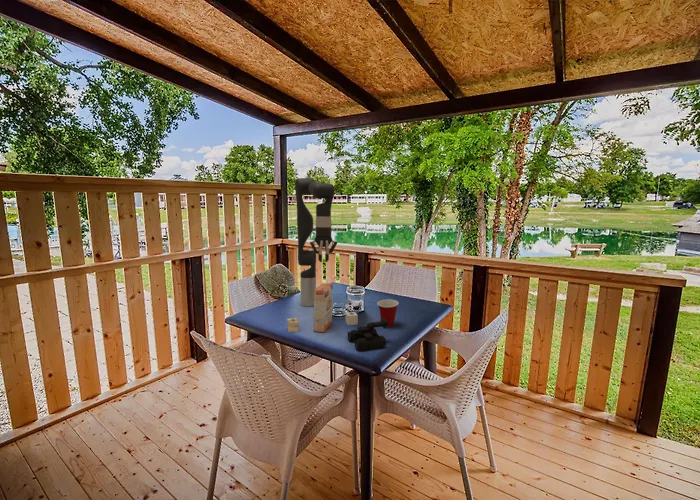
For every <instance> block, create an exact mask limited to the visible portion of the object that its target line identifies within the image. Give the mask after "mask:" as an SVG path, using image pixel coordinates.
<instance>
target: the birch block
mask: <svg viewBox="0 0 700 500" xmlns="http://www.w3.org/2000/svg"><path fill="white" fill-rule="evenodd" d="M286 319H287V322H286V323H287V324H286V325H287V331H288V333H298V332H300V320H299V319H298V317H295V318H293V317H292V318H286Z"/></svg>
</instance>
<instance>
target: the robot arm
mask: <svg viewBox="0 0 700 500" xmlns="http://www.w3.org/2000/svg"><path fill="white" fill-rule="evenodd" d="M294 190H295V200H296V229H297V230H296V231H297V263H298V266H303V267H305V266H306V267H307V266H308V267H309V266H310V267H309V268H307V269H305V270H302V271H301V272H300V306H302V307H314V290H315V289H316V288H317V259H318V261H319V263H322V262H323V254H322V250H323V248H324V251H325V255H324V256H325V257H324V261H325V263H328V262H329V260H330V258H329V257H330V254H332V253H333V252H334V251H335V248H336V246H337V244H338V242H337V241H336V240H334V239H333V238H332V224H333V223H332V205H333V201H334V196H335V192H336V191H335V190H336V189H335V186H334V185H333V184H332V183H322V182H320V181H316V180H315V179H314V178H310V177H304V178H303V177H301V178H296V179H295V182H294ZM310 195H311V196H312V197H313V198H314V199H325V200H324V202H322V203H318V204H316V207H315V238H314V240H312V241H310V242H309V244H310V247H311V248H312V250H311V249H304V247H305V244H306V243H307V240H308V239H309V238H310V236H311V234H312V233H313V231H314V217H313V215H312V213H311V212H310V211H309V209H308V208H307V205H306V204H305V202H304V199H303V196H310ZM316 245H317V246H318V248H316ZM330 245H331V246H330ZM329 246H330V248H329ZM317 249H318V250H317ZM317 255H318V258H317Z"/></svg>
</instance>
